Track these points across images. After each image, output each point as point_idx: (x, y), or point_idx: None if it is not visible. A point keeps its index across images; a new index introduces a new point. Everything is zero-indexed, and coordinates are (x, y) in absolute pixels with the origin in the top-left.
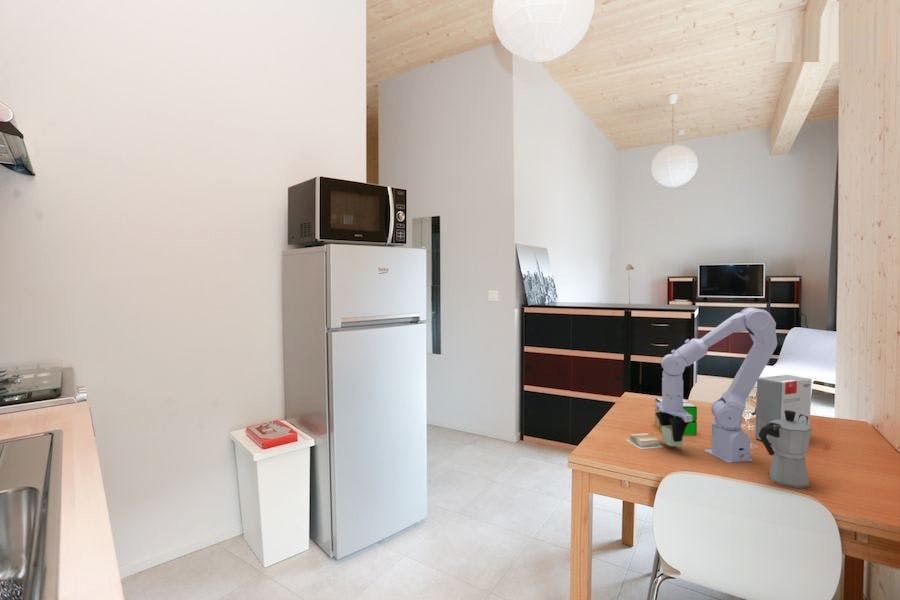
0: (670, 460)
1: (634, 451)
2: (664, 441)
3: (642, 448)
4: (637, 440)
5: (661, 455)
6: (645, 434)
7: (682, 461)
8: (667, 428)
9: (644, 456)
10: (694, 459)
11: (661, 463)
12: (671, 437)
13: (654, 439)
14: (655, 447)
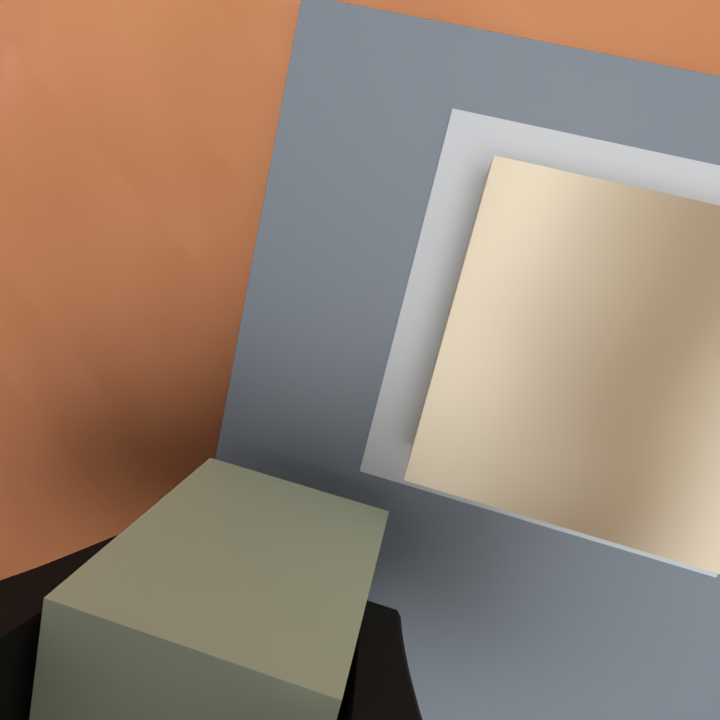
0: (72, 220)
1: (469, 8)
2: (333, 505)
3: (448, 158)
4: (600, 183)
5: (216, 250)
6: (692, 497)
7: (14, 319)
8: (156, 632)
9: (273, 4)
10: (20, 476)
11: (37, 38)
12: (139, 525)
13: (438, 424)
14: (393, 360)
